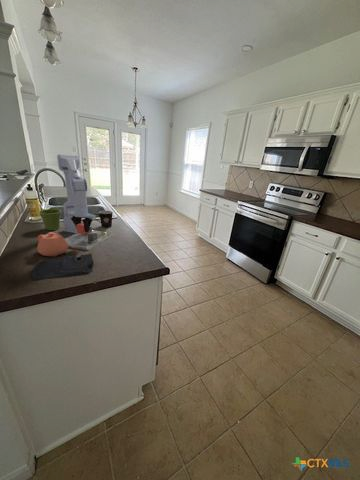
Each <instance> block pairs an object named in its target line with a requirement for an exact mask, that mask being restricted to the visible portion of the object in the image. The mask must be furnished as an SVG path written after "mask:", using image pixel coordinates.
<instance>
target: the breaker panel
mask: <svg viewBox="0 0 360 480" xmlns="http://www.w3.org/2000/svg"><path fill="white" fill-rule="evenodd" d="M91 232H97V239H95V240H93V241H92V240H88V234H79V233H74V234H73V235H70V236H68V237H66V238H65V237H64V239H65V240H66V242H67V244H68V248H72V249H77V250H83V251H86V252H87V251H90V250H91V249H93V248H94V247H96V246H98V245H99V244H101V243H103V242H105V241H107V240H108V239H110V238H112V237H114V233H113V232H107V231H101V230H100V231H99V230H95V229H91Z"/></svg>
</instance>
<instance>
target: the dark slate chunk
mask: <svg viewBox="0 0 360 480" xmlns="http://www.w3.org/2000/svg"><path fill="white" fill-rule="evenodd" d="M93 259H94V258H93V255H92V253H87V254H86V253H85V254H81V255H80V256H76V255H75V254H74V255H64V256H62V257H61V258H58V259H50V260H49V259H45V260H38V261H37V262H36V263H35V265H34V267H33V269H32V272H31V280H32V281H43V280H53V279H61V278H69V277H76V276H83V275H84V276H85V275H89V274H90V273H92V272H94V270H93V267H94V260H93Z"/></svg>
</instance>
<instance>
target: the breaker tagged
mask: <svg viewBox="0 0 360 480" xmlns="http://www.w3.org/2000/svg"><path fill="white" fill-rule="evenodd" d="M95 239H97V232H90V233H88V240H92V241H93V240H95Z"/></svg>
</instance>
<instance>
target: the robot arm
mask: <svg viewBox="0 0 360 480" xmlns="http://www.w3.org/2000/svg"><path fill="white" fill-rule="evenodd" d="M56 158H57V164H58V170H59V171H62V172H63V174H64V181H65V190H66V197H67V201H65V202H64V203H63V204H62V207H63V216H64V217H63V219H62V220H63V221H62V223H63V232H68V233H73V234H77V226H76V225H77V224H80V223H83V224H84V228H85V232H86V233H87V232H89V229H90V226H91V225H92V222H93V220H94V221H95V219H96V220H97V215H94V214H92V213H89V211H88V209H89V208H88V200H87V199H88V198H87V192H88V183H87V181H86V179H85V178H83V175H82V173H81V171H79V168H80V159H79V157H78V155H69V154H68V155H67V154H57V155H56Z"/></svg>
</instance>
